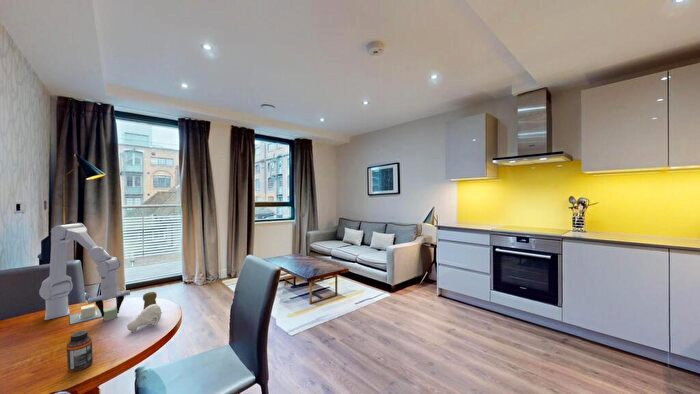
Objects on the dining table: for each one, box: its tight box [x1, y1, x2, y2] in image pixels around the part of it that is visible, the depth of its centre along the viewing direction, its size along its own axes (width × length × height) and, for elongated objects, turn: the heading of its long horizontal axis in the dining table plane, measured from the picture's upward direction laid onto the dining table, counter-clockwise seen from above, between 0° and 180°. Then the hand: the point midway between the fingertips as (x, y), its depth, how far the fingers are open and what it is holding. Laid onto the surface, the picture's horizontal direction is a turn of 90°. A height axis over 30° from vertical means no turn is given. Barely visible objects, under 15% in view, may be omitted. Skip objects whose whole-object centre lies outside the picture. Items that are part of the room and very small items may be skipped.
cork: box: [142, 291, 157, 311], centre depth 128 cm, size 6×6×11 cm
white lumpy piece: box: [127, 303, 163, 333], centre depth 118 cm, size 6×8×12 cm
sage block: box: [102, 305, 118, 322], centre depth 127 cm, size 4×4×4 cm
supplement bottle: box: [66, 329, 93, 373], centre depth 92 cm, size 6×6×11 cm
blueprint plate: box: [69, 307, 105, 326], centre depth 130 cm, size 12×12×1 cm
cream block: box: [80, 303, 96, 318], centre depth 129 cm, size 4×4×4 cm
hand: (110, 314), depth 128 cm, fingers closed on sage block, 4 cm apart
